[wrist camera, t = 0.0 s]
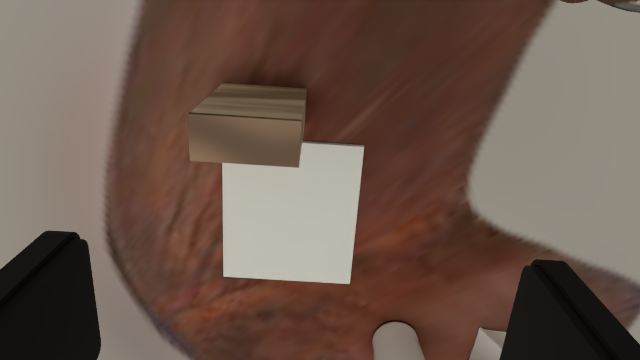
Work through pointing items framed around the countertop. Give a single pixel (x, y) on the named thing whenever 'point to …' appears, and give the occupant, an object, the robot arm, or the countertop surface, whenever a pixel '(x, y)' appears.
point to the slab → (249, 125)
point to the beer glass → (616, 4)
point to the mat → (293, 216)
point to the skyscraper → (488, 345)
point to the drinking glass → (396, 343)
